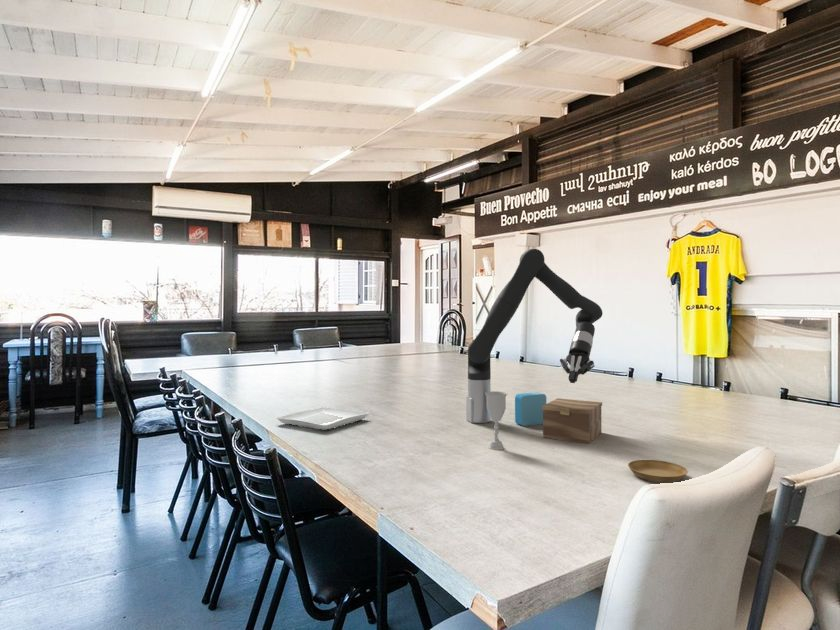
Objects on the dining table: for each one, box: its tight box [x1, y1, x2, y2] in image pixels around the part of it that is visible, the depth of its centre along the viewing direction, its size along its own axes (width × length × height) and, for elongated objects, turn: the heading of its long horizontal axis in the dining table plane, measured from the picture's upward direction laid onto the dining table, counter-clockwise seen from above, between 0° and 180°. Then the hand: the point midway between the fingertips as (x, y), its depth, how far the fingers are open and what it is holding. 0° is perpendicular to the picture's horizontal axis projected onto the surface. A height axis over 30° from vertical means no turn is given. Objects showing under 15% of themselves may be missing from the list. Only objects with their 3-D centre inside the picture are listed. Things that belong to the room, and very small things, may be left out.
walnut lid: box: [542, 397, 603, 415], centre depth 182 cm, size 19×17×2 cm
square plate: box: [275, 406, 371, 431], centre depth 205 cm, size 27×27×4 cm
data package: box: [514, 391, 547, 427], centre depth 200 cm, size 12×4×12 cm, turn 112°
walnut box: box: [542, 406, 602, 444], centre depth 182 cm, size 18×16×10 cm
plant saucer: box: [627, 459, 689, 484], centre depth 137 cm, size 15×15×3 cm
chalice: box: [485, 391, 508, 451], centre depth 166 cm, size 7×7×18 cm
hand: (572, 381), depth 181 cm, fingers closed
